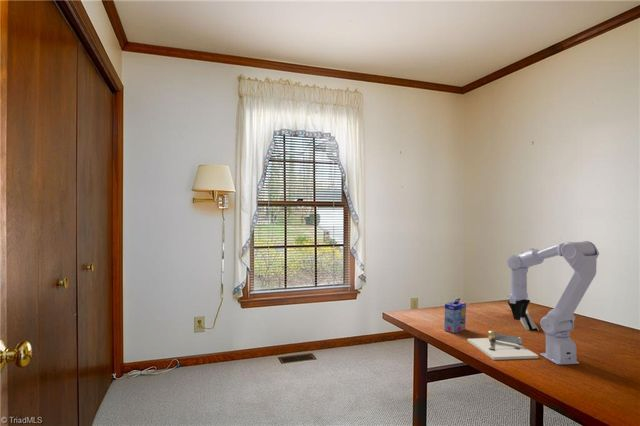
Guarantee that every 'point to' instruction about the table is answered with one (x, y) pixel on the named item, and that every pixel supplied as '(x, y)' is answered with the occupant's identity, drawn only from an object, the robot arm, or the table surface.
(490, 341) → the divider fixed leg
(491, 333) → the divider leg
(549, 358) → the robot arm
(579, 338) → the table surface
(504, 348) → the plate
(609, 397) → the table surface
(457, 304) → the ink cartridge box
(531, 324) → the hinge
